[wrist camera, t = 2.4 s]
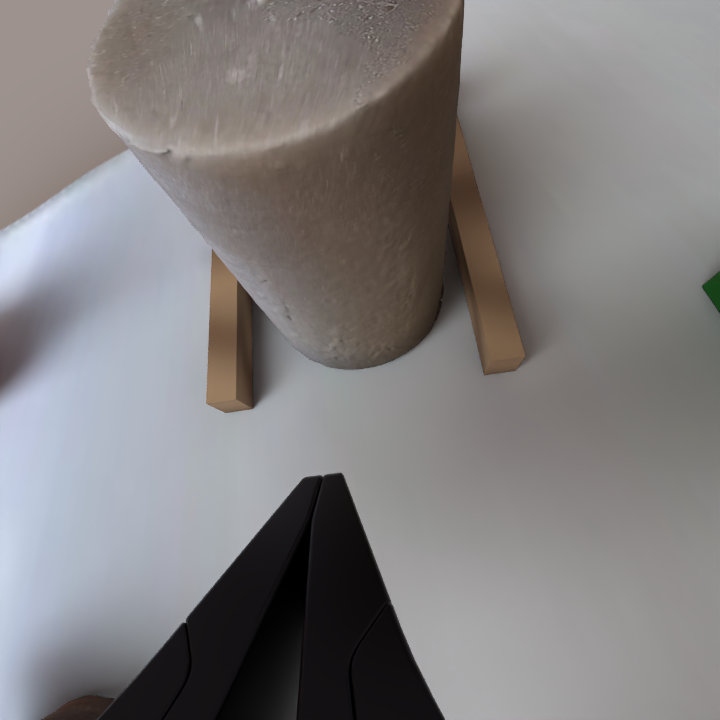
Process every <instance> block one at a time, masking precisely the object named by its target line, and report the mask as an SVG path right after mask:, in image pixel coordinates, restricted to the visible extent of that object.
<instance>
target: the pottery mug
mask: <svg viewBox="0 0 720 720" xmlns="http://www.w3.org/2000/svg"><path fill="white" fill-rule="evenodd" d="M114 700H115V699H113V698H103V697H100V696H85V697H82V698H79V699H76V700H73V701H71V702H69V703H67V704H65V705H63V706H62V707H61V708H59V709H58V710H57V711H56V712H54V713H52V714H51V715H49V716H47V717H45V718H44V719H42V720H97V719H98V718H99V717H100V716H101V714H102V713H103V712H104V711H105V710H106V709H107V708H108V707H109V706H110V705H111V704H112V703H113V701H114Z"/></svg>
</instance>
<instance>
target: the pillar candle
mask: <svg viewBox="0 0 720 720" xmlns="http://www.w3.org/2000/svg"><path fill="white" fill-rule="evenodd" d="M108 14H109V16H108V18H107V20H106V23H105V25H104V27H103V28H102V30H100V31H99V33H98V35H97V37H96V38H95V39H94V40H93V43H92V44H91V46H90V48H91V49H93V52H92V54H91V55H90V58H89V60H88V63H87V66H86V71H87V73H88V77H89V86H90V88H91V91H92V94H93V95H92V97H91V102H92V103H93V104H94V106H95V107H96V108H97V110H98V111H99V113H100V115H101V117H102V118H103V119H104V120H105V121H106V123H107V124H108V126H109V127H110V128H111V129H112V130H113V131H114V132H115V133H116V134H118V135H119V136H120V138H121V139H122V140H123V141H124V143H125V144H126V145H127V146H128V148H129V149H130V150H131V151H132V153H133V154H134V155H135V156H136V158H137V159H138V160H139V162H140V163H141V164H142V165H143V167H144V168H145V169H146V170H147V171H148V173H149V174H150V175H151V176H152V177H153V178H154V180H155V181H156V182H157V183H158V184H159V185H160V186H161V187H162V188H163V190H164V191H165V192H166V193H167V194H168V196H169V197H170V198H171V199H172V200H173V202H174V203H175V204H176V205H177V207H178V208H179V209H180V210H181V212H182V213H183V214H184V215H185V216H186V218H187V219H188V220H189V222H190V223H191V225H192V226H193V227H194V228H195V229H196V230H197V231H198V232H199V233H200V234H201V235H202V237H203V238H204V239H205V241H206V242H207V243H208V244H209V246H210V247H211V248H212V249H213V251H214V252H215V253H216V255H217V256H218V257H219V258H220V259H221V260H222V262H223V263H224V264H225V266H226V267H227V268H228V269H229V270H230V272H231V273H232V274H233V275H234V276H235V277H236V278H237V280H238V281H239V282H240V284H241V285H242V286H243V288H244V289H245V290H246V291H247V292H248V293H249V295H250V296H251V297H252V298H253V299H254V301H255V302H256V304H257V305H258V306H259V307H260V308H261V309H262V310H263V311H264V312H265V314H266V315H267V316H268V317H269V319H270V320H271V321H272V322H273V323H274V324H275V326H276V327H277V328H278V329H279V331H280V332H281V333H282V334H283V335H284V337H285V338H286V339H287V340H288V341H289V343H291V344H292V345H293V347H295V348H296V349H297V350H299V351H300V352H301V353H302V354H304V355H305V356H306V357H308V358H309V359H310V360H313V361H315V362H318V363H321V364H323V365H324V366H327V367H331V368H338V369H363V368H370V367H375V366H378V365H382V364H384V363H387V362H389V361H391V360H394V359H396V358H398V357H399V356H401V355H403V354H404V353H406V352H407V351H409V350H410V349H412V348H413V347H414V346H416V345H417V344H418V343H419V342H420V341H421V340H422V339H423V338H424V337H425V335H426V334H427V333H428V332H429V331H430V329H431V328H432V326H433V324H434V322H435V321H436V319H437V316H438V314H439V311H440V308H441V304H442V301H441V299H442V298H443V291H444V290H443V289H444V287H443V270H444V265H445V261H446V250H445V248H446V235H447V227H448V213H449V203H450V195H451V187H452V170H453V159H454V149H455V137H456V119H457V105H458V94H459V85H460V64H461V48H462V36H463V19H464V0H115V4H114V5H113V7H111V8H110V9H109V10H108Z"/></svg>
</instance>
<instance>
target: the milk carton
mask: <svg viewBox="0 0 720 720" xmlns="http://www.w3.org/2000/svg"><path fill="white" fill-rule="evenodd" d="M702 287H703V289H704V290H705V292H706V293H707V294H708V296H709V297H710V299H711V300H712V302H713V303H714V305H715V306H716V307H717V309H718V310H719V312H720V272H718V273H717V274H716V275H715V276H714V277H712V278H711V279H710V280H709V281H708V282H706V283H705V284H704V285H703V286H702Z"/></svg>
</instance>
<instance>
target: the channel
mask: <svg viewBox="0 0 720 720" xmlns="http://www.w3.org/2000/svg"><path fill="white" fill-rule="evenodd" d="M448 224H449V229H450V233H451V237H452V241H453V246H454V250H455V254H456V258H457V262H458V267H459V271H460V275H461V279H462V283H463V288H464V292H465V296H466V300H467V304H468V309H469V313H470V317H471V321H472V325H473V330H474V334H475V338H476V342H477V346H478V351H479V355H480V359H481V363H482V367H483V372H484V375H489V374H496V373H503V372H509V371H515V370H516V369H517V367H518V366H519V365H520V363H521V362H522V360H523V359H524V358H525V353H524V349H523V346H522V342H521V339H520V335H519V332H518V328H517V324H516V321H515V317H514V314H513V310H512V307H511V303H510V300H509V296H508V293H507V289H506V286H505V282H504V279H503V275H502V272H501V268H500V265H499V261H498V258H497V254H496V251H495V247H494V244H493V240H492V237H491V233H490V229H489V226H488V222H487V219H486V215H485V212H484V208H483V205H482V201H481V198H480V194H479V191H478V187H477V184H476V180H475V177H474V173H473V170H472V166H471V163H470V159H469V156H468V152H467V149H466V145H465V141H464V138H463V134H462V131H461V127H460V124H459V120H458V117H457V119H456V137H455V149H454V159H453V170H452V187H451V195H450V203H449V213H448ZM206 404H208V405H210V406H212V407H214V408H216V409H219V410H221V411H223V412H225V413H228V412H235V411H242V410H249V409H253V369H252V297H251V296H250V295H249V293H248V292H247V291H246V290H245V289H244V288H243V286H242V285H241V284H240V282H239V281H238V280H237V278H236V277H235V276H234V275H233V274H232V273H231V272H230V270H229V269H228V268H227V267H226V266H225V264H224V263H223V262H222V260H221V259H220V258H219V257H218V256H217V255H216V253H215V252H214V251H213V249H212V266H211V293H210V320H209V346H208V373H207V400H206Z"/></svg>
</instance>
